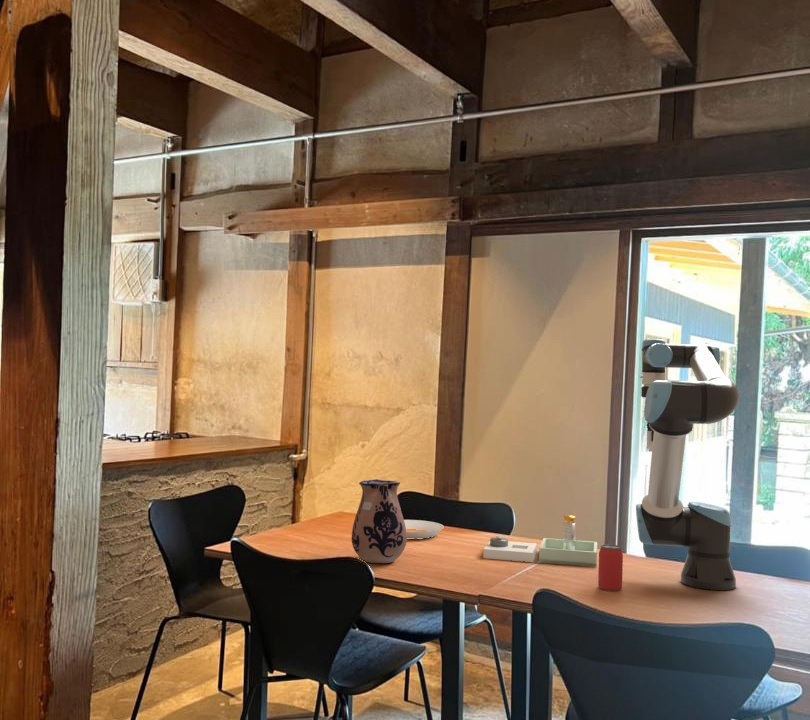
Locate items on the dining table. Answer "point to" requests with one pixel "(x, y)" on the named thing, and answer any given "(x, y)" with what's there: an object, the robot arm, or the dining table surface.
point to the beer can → (610, 567)
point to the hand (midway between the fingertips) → (652, 450)
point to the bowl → (422, 528)
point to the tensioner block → (509, 550)
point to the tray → (568, 552)
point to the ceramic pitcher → (379, 523)
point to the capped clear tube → (569, 532)
